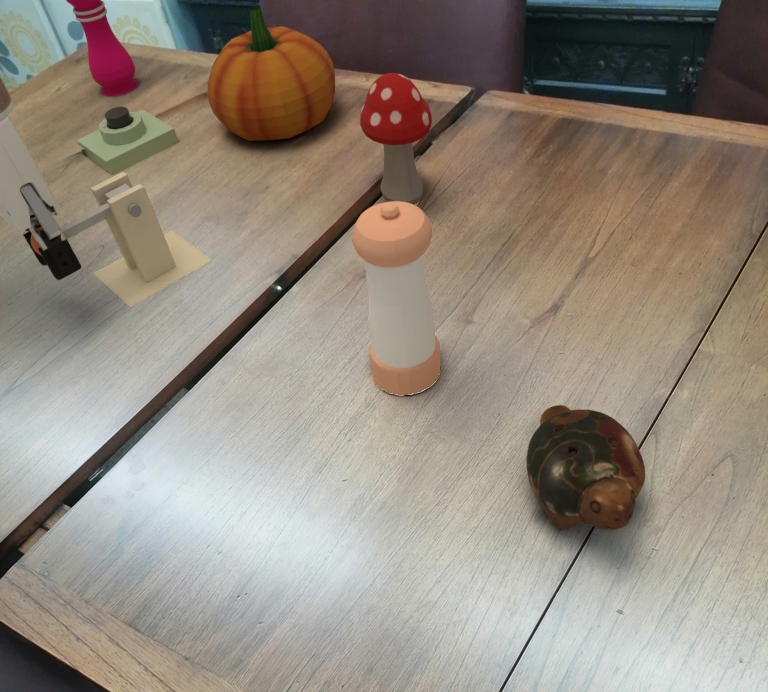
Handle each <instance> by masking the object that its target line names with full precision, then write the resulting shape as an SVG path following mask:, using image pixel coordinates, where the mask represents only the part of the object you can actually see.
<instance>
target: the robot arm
mask: <svg viewBox="0 0 768 692" xmlns="http://www.w3.org/2000/svg"><path fill="white" fill-rule="evenodd" d="M14 108H15V102H14V100H13V98H12V96H11V94H10V93H9V90H8V89H7V86H6V84H5V82H4V81H3V79H2V77H1V76H0V217H1V218H2V219H3V220H4V221H5V222H6V223H8V224H9V225H10V226H11V227H12V228H13V229H14V230H15V231H17V232H20V233H23V234H22V236H23V238H24V239H25V241H26V242H27V244H28V246H29V247H30V250H31V251H32V253H33V254H34V256H35V258H36V259H37V262H38V263H39V264H40V265H41V266H43V267H46V266H47V267H48V269H49V271H50V273H51V274H52V276H53V277H54V279H55V280H57V281H61V280H63V279H65V278H67V277H69V276H70V275H73V274H74V273H77V272H78V271H80V270H81V269H82V264H81V263H80V261H79V258H78V256H77V255H76V253H75V251H74V249H73V248H72V246H71V244H70V242H69V240H68V239H67V238H66V237H65V236H64V234H63V232H62V231H61V229H60V227H61V226H60V225H59V224H58V222H57V220H56V219H55V217H54V216H58V215H59V213H60V207H59V204H58V203H57V200H56V198H55V196H54V194H53V192H52V190H51V188H50V186H49V184H48V182H47V180H46V178H45V176H44V175H43V172H42V171H41V169H40V167H39V166H38V164H37V162H36V160H35V159H34V157H33V154H32V152H31V151H30V150H29V147H28V146H27V144H26V142H25V141H24V138H23V136H22V135H21V133H20V132H19V130H18V129H17V127H16V125H15V124H14V122H13V120H12V118H11V117H10V114H12V111H13V110H14ZM39 227H42V228H43V230H41V231H40V234H39V232H38V231H37V228H39ZM31 235H33V236H34V238H35V240H36V241H37V243H38V245H39V246H40V248H38V250H39V252H40V254H41V255H42V256H41V255H39V254H38V253H37V252H36V251H35V250H34V249H33V247H32V245H31Z"/></svg>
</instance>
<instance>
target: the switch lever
mask: <svg viewBox="0 0 768 692" xmlns="http://www.w3.org/2000/svg"><path fill="white" fill-rule="evenodd" d="M128 189H130V187H129V186H128V185H126V184H124V185H122V186H120V187H118V188H116V189H114V190H112V191H110V192H108V193H106V194H105V197H106V199H107V200H109V199H111V198H113V197H115V196H117V195H119V194H120V193H122V192H124V191H126V190H128ZM112 215H113V213H112V211H111V209H110V207H109V205H108V203H106V204H104V205H102V206H100V207H99V206H98V207H96V208H94V209H92V210H91V211H89V212H86V213H85V214H83V215H81V216H78V218H75V219H73V220H72V221H69V222H67V223H66V224H64V225H62V226H59V227H60V229H61V231H62V232H63V234H64V236H65V237H66V238H67V240H68V239H70V238H72V237H75V236H76V235H78V234H80V233H82V232H83V231H85V230H87V229H89V228H92V227H93V226H95V225H97V224H98V223H100V222H103V221H104V220H105V219H106V218H108V217H110V216H112ZM41 230H43V228H42V227H39V228H37V231H38V232H39V234H40V231H41ZM31 245H32V247H33V249H34V250H35V251H36V252H37V253H38V254H39V255H41V254H40V252H39V250H38V248H40V246H39V245H38V243H37V241H36V240H35V238H34V236H33V235H31ZM41 256H42V255H41Z"/></svg>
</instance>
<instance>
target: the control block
mask: <svg viewBox="0 0 768 692" xmlns="http://www.w3.org/2000/svg"><path fill="white" fill-rule="evenodd" d="M129 114H130V116H131V119H132V123H131V124H130V125H129V126H127V127H125V128H121V129H110V128H109V125H108V123H107V121H106V118H105V117H104V119H103V120H102V121H101V122H100V123H99V126H98V129H97V130H95V131H93V132H91V133H89V134H87V135H84V136H82V137H81V138H79V139H76V142H77V145H79V146H80V147H81V148H82V149H81V150H80V151H81V153H82V154H83V155H84V156H85V157H86V158H88V159H89V160H91V161H92V162H93V163H95V164H96V165H97V166H99V167H100V168H102V170H104V171H106V172H107V173H108V174H110V175H111V176H113V175H115V174H118V173H119V172H121V171H123V170H126V169H128V168H129V167H131V166H133V165H135V164H137V163H139V162H141V161H143V160H145V159H147V158H149V157H151V156H154V155H155V154H157V153H159V152H161V151H164V150H166V149H167V148H169V147H171V146H173V145H176V144H177V143H179V139H178V136H177V134H176V130H175V128H174V127H173V126H171V125H169V124H168V123H166V122H165V121H162V120H161V119H159V118H158V117H156V116H154V115H153V114H151V113H149V112H148V111H146V110H145V109H143V108H142V109H140V110H138V111H129Z"/></svg>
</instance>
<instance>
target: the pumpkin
mask: <svg viewBox="0 0 768 692" xmlns="http://www.w3.org/2000/svg"><path fill="white" fill-rule="evenodd" d="M249 15H250V17H249V18H250V30H249V31H246V32H245V33H242V34H240V35H237V36H235V37H233V38H231V39H230V40H229V41H228V42H227V43H226V44H225V45H224V47H223V48H222V50H221V51H220V52H219V54H218V55H217V57H216V58H215V60H214V61H213V64H212V67H211V69H210V72H209V73H210V74H209V76H208V80H207V90H206V91H207V92H206V94H207V99H208V100H207V101H208V104H209V106H210V108H211V111H212V113H213V115H214V116H215V117H216V118H217V120H218V121H219V122H220V123H221V124H223V126H224V127H226V128H227V129H228V130H229V131H230V132H231V133H233V134H234V135H236V136H238V137H240V138H242V139H244V140H247V141H250V142H251V141H274V140H284V139H290V138H293V137H295V136H298V135H301V134H302V133H304V132H306V131H309V130H310V129H312V128H314V127H316V126H317V125H319V124H321V123H322V122H324V120H325V118H326V116H327V115H328V112H329V110H330V108H331V107H332V104H333V102H334V99H335V95H336V70H335V67H334V63H333V60H332V58H331V56H330V55H329V53H328V51H327V50H326V49H325V48H324V47H323V46H322V45H321V43H319V42H317V41H316V40H314V39H313V38H311V36H308V35H306V34H304V33H302V32H300V31H297V30H295V29H292V28H289V27H286V26H285V25H284V26H283V25H280V26H272V27H268V26H267V24H266V23H265V19H264V15H263V11H262V7H261V6H260V5H254V6H252V7H250V8H249Z"/></svg>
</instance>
